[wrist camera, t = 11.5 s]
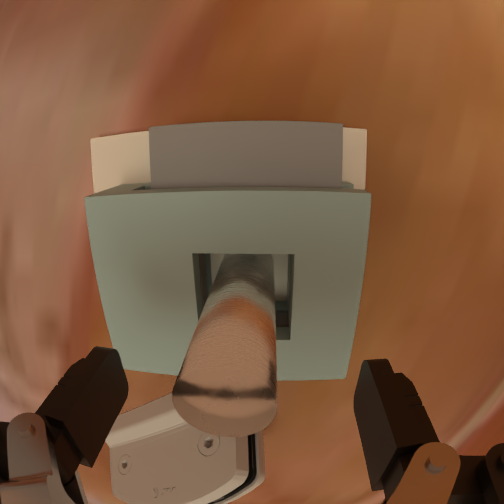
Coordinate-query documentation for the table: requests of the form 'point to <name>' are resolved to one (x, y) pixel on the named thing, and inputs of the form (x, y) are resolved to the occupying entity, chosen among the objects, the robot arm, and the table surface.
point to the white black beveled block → (179, 459)
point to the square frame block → (230, 234)
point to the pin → (233, 352)
